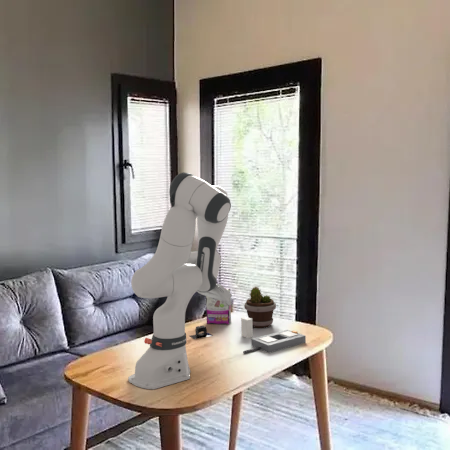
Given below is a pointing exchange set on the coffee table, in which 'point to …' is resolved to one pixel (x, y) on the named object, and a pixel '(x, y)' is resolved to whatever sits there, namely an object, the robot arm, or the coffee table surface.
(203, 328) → the black boxy piece
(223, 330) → the coffee table surface
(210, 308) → the candy bar box
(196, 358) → the coffee table surface
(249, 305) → the flowerpot
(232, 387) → the coffee table surface
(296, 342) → the power strip
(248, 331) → the plug
